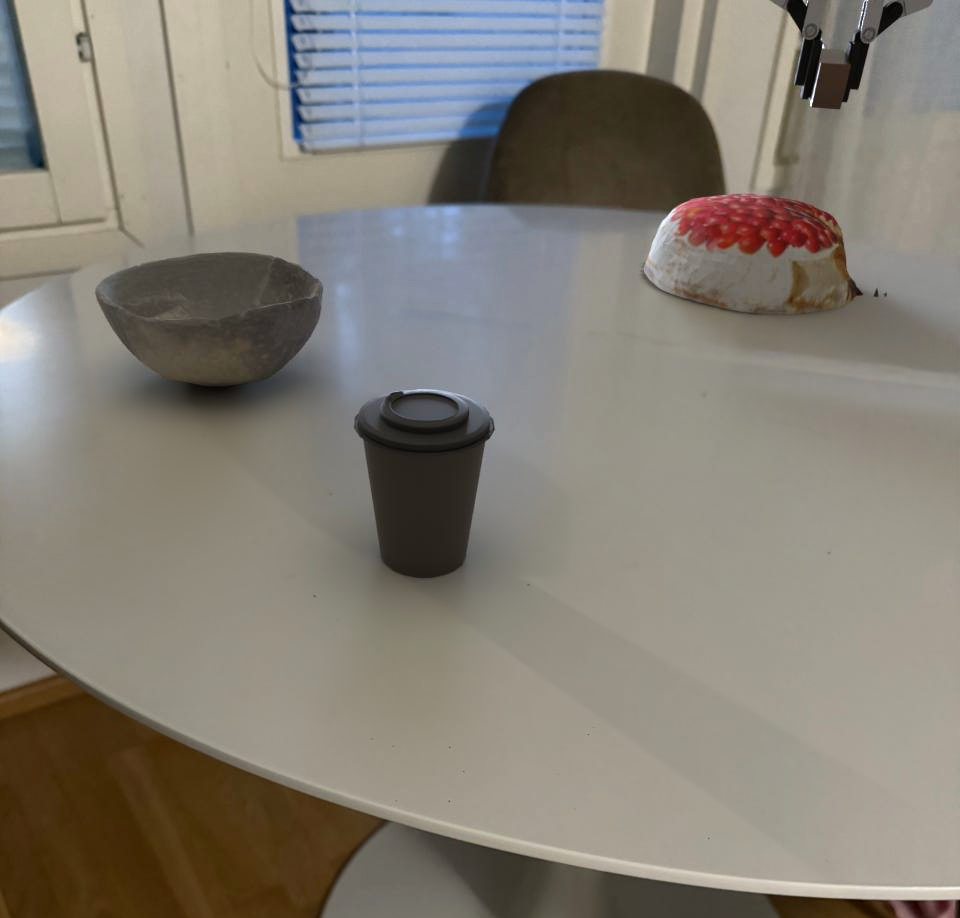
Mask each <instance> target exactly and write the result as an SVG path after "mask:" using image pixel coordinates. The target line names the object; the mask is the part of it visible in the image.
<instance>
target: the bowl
mask: <svg viewBox="0 0 960 918" xmlns="http://www.w3.org/2000/svg"><path fill="white" fill-rule="evenodd" d="M323 293H324V284H323V282H322V281H321V280H320V279H319V278H317V277H316V276H314V275H312V274H311V272H310V271H309V270H307V269H306V268H305V267H304V266H302V265H300V264H298V263H294V262H292V261H288V260H286V259H284V258H282V257H278V256H274V255H270V254H263V253H256V252H243V251H220V252H219V251H217V252H203V253H202V252H201V253H194V254H188V255H182V256H177V257H169V258H168V257H167V258H163V259H157V260H152V261H147V262H143V263H141V264H138V265H137V264H136V265H133V266H131V267H128V268H125V269H121V270H119V271H116V272H115V273H112V274H110V275H108V276H107V277H105V278H104V279H103V278H102V280H101V281H99V283H98V284H97V286H96V287H95V290H94V295H95V297H96V298H95V299H96V301H97V303H98V305H99V307H100V309H101V311H102V313H103V315H104V318H105V319H106V321H107V322H108V324H109V326H110V327H111V329H112V331H113V332H114V333H115V335H116V336H117V338H118V339H119V341H120V342H121V343H122V344H123V345H124V347H125V348H126V349H127V351H129V352H130V353H131V355H133V356H134V357H135V358H136V359H137V360H138V361H139V362H140V363H142V364H143V365H144V366H146V367H148V368H149V369H150V370H152V371H153V372H154V373H156V374H158V375H160V376H161V377H162V378H164V379H165V380H169V381H171V382H179V383H186V384H192V385H198V386H203V387H204V386H205V387H231V386H238V385H245V384H249V383H255V382H260V381H264V380H266V379H268V378H271V377H272V376H273V375H275V374H277V372H279V371H280V370H281V369H283V368H284V367H285V366H286V365H287V364H288V363H289V362H291V361H292V359H293V358H295V357H296V356H297V355H298V353H300V351H301V350H302V349H303V348H304V346H306V343H308V341H309V340H310V339H311V337H312V335H313V333H314V331H315V329H316V328H317V325H318V323H319V320H320V318H321V312H322V305H323V303H322V301H323Z"/></svg>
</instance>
